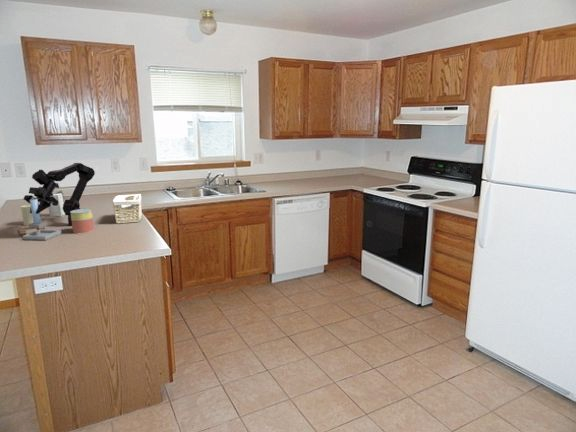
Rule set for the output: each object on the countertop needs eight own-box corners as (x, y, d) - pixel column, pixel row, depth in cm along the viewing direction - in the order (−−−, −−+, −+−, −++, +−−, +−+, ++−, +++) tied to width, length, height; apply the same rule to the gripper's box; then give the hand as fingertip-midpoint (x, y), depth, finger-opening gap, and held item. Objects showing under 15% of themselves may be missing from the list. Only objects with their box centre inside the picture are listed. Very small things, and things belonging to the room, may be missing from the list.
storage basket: (118, 216, 268) (115, 194, 265) (143, 214, 273) (141, 193, 269) (114, 224, 246) (111, 201, 242) (142, 222, 250) (139, 199, 247)
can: (37, 221, 256) (34, 202, 253) (43, 223, 250) (40, 204, 247) (21, 223, 249) (18, 205, 246) (26, 226, 243) (23, 207, 240)
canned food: (98, 229, 235) (96, 209, 232) (82, 234, 225) (79, 213, 222) (85, 227, 239) (82, 208, 237) (68, 232, 229) (65, 212, 227)
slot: (19, 230, 235) (19, 228, 235) (44, 226, 242) (43, 225, 241) (20, 235, 223) (19, 233, 223) (45, 232, 230) (45, 230, 230)
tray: (61, 233, 226) (61, 230, 225) (45, 240, 213) (45, 236, 213) (40, 233, 227) (40, 229, 227) (23, 240, 215) (22, 235, 214)
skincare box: (66, 214, 274) (63, 193, 270) (61, 216, 268) (58, 194, 264) (53, 214, 274) (50, 193, 270) (48, 216, 268) (45, 194, 264)
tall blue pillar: (28, 226, 219) (24, 200, 215) (36, 224, 223) (32, 198, 220) (39, 227, 217) (34, 200, 213) (46, 225, 222) (42, 198, 218)
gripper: (23, 180, 220) (8, 204, 213) (51, 181, 216) (37, 206, 208) (37, 192, 230) (24, 215, 222) (64, 193, 225) (51, 217, 217)
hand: (33, 213), depth 217 cm, fingers closed on tall blue pillar, 4 cm apart
